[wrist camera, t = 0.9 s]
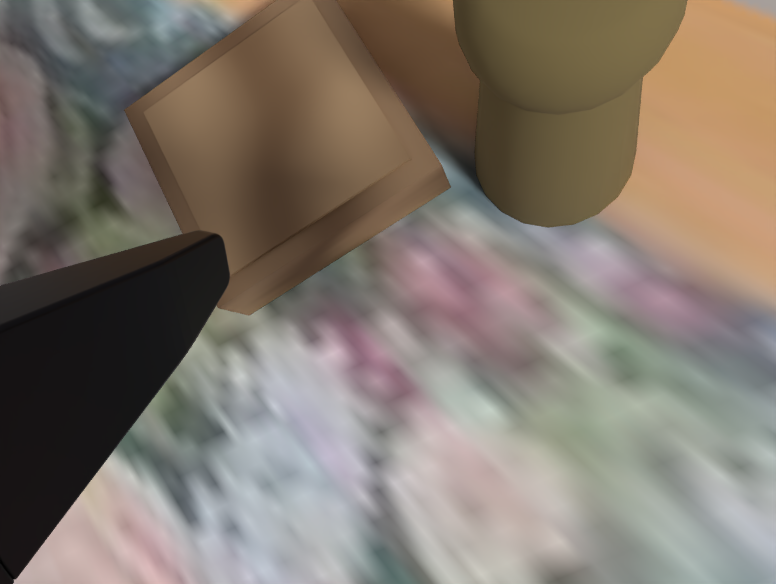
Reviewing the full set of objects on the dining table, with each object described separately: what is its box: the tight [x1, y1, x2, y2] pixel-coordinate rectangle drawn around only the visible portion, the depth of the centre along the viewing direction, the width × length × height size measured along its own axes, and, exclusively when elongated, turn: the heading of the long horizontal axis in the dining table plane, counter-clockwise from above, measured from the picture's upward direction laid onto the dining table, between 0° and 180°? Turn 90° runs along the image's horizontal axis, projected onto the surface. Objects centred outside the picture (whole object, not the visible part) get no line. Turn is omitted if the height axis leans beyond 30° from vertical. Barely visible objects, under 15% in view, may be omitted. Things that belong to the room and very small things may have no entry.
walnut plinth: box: [124, 0, 451, 315], centre depth 24 cm, size 10×10×3 cm
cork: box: [453, 0, 687, 227], centre depth 17 cm, size 6×6×11 cm
